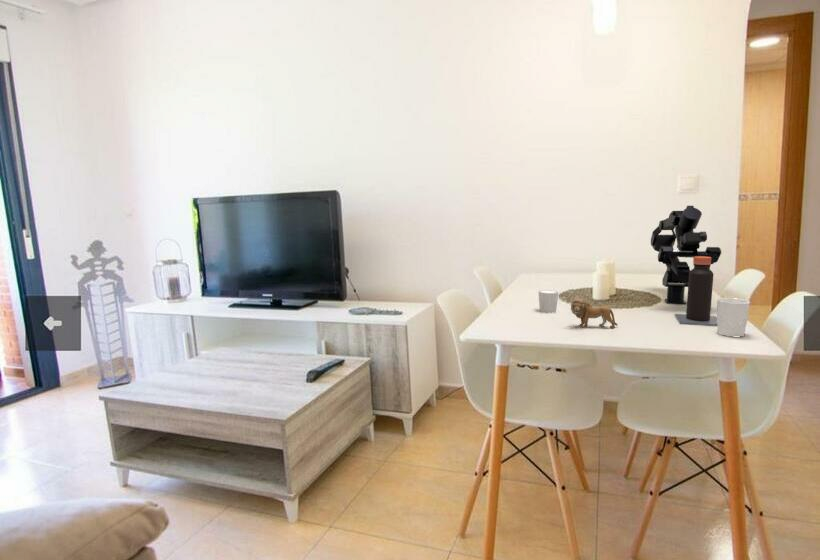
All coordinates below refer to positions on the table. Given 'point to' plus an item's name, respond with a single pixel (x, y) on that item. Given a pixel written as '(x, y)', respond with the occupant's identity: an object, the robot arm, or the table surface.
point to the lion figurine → (591, 313)
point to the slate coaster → (684, 320)
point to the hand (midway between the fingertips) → (692, 274)
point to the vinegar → (700, 290)
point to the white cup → (732, 316)
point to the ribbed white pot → (548, 301)
